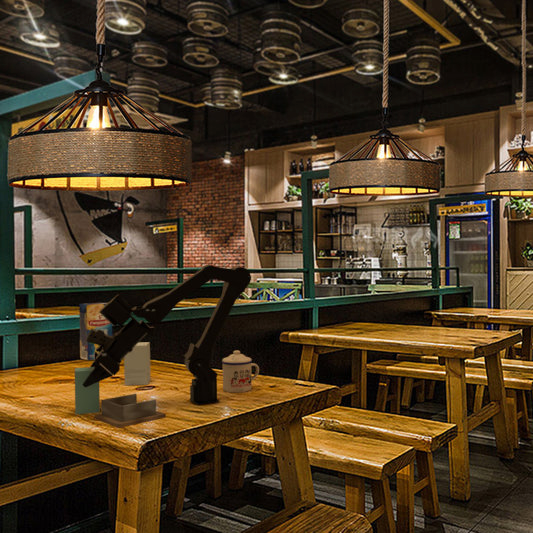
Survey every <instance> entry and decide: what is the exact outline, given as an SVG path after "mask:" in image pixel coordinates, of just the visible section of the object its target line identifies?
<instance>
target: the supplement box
mask: <svg viewBox="0 0 533 533" xmlns="http://www.w3.org/2000/svg"><path fill="white" fill-rule="evenodd" d="M150 345H151V343H150V341H148V342H146V341H145V342H142V341H139V342H138V343H137V345H136V346H135V347H134V348H133V350H132V351H131V352H129V353H128V354H127V355H126V356H125V357H124V358H123V370H124V373H123V374H124V386H141V385H142V386H144V385H145V386H147V385H149V383H150V382H151V379H152V378H151V346H150Z"/></svg>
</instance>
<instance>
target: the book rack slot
mask: <svg viewBox="0 0 533 533" xmlns="http://www.w3.org/2000/svg"><path fill="white" fill-rule="evenodd" d="M137 395H138V394H137V393H131V394H127V395H121V396H116V397H115V396H114V397H110V398H104V399H101V400H100V401H101V402H100V404H101V405H100V412H101V413H96V414H94V415H93V418H94V419H95V420H97V421H101V422H102V423H106V424H108V425H110V426H113V427H116V428H118V429H119V428H123V427H128V426H132V425H137V424H141V423H147V422H150V421H155V420H159V419H163V418H166V413H164V412H160V411H158V410H157V399H156V398H155V399H151V400H145V401H140V402H137V399H138V397H137Z"/></svg>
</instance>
